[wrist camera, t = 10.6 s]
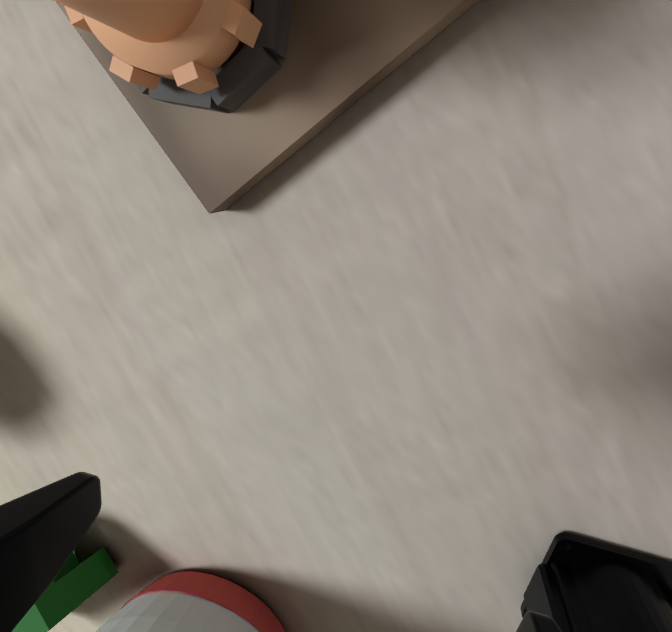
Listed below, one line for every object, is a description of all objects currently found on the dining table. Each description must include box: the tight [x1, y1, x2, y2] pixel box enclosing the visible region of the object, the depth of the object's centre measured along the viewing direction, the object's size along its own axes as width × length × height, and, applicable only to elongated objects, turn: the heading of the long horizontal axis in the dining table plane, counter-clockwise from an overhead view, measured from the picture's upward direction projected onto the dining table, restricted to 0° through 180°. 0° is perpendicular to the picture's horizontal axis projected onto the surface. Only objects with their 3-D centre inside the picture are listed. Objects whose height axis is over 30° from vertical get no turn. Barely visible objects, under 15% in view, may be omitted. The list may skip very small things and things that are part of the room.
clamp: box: [12, 547, 118, 632], centre depth 30 cm, size 12×6×9 cm, turn 125°
